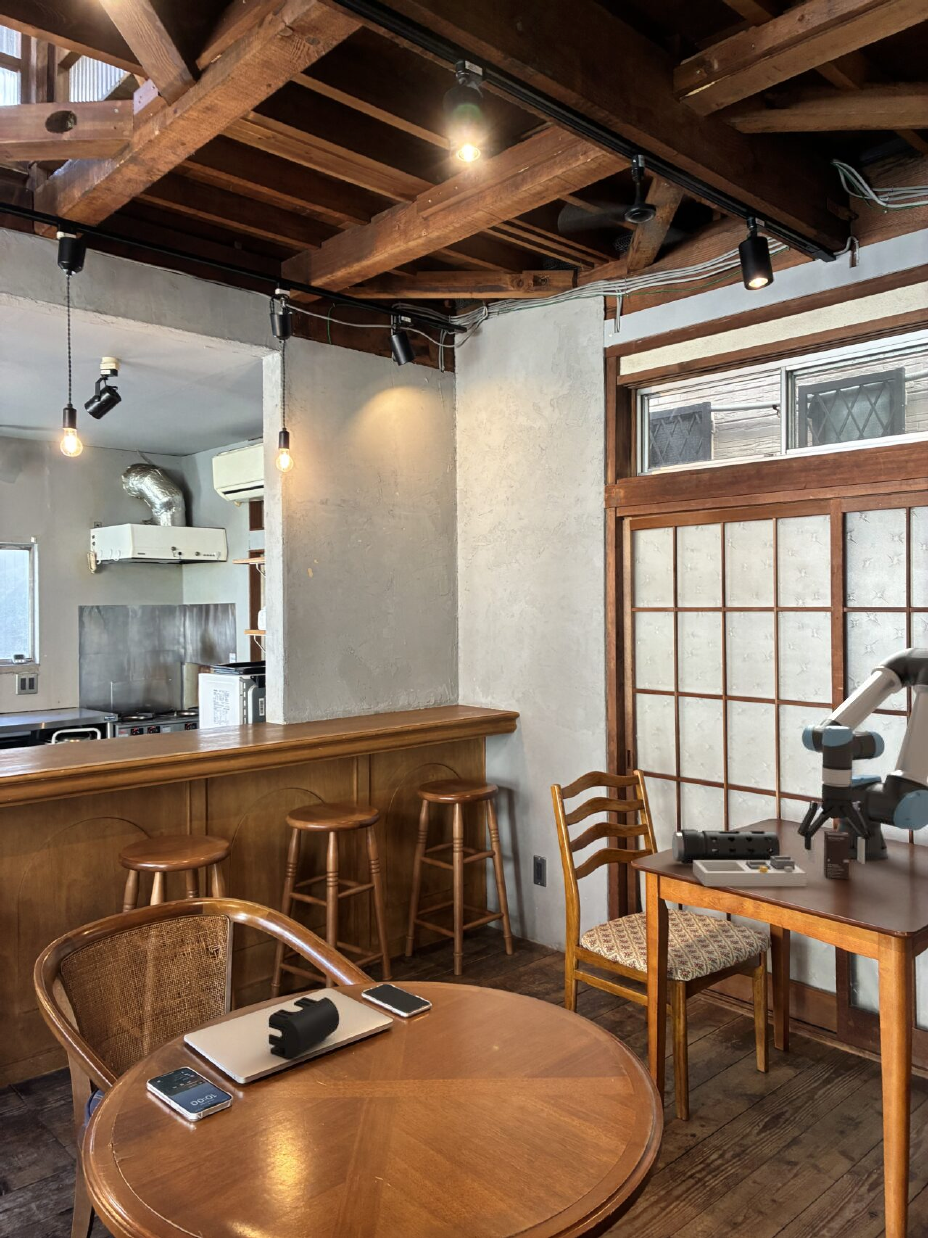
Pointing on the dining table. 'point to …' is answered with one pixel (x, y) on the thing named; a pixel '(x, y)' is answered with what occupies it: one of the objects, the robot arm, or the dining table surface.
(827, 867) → the box
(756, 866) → the button
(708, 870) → the grey compartment tray
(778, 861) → the button
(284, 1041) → the end cap
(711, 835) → the muzzle brake
